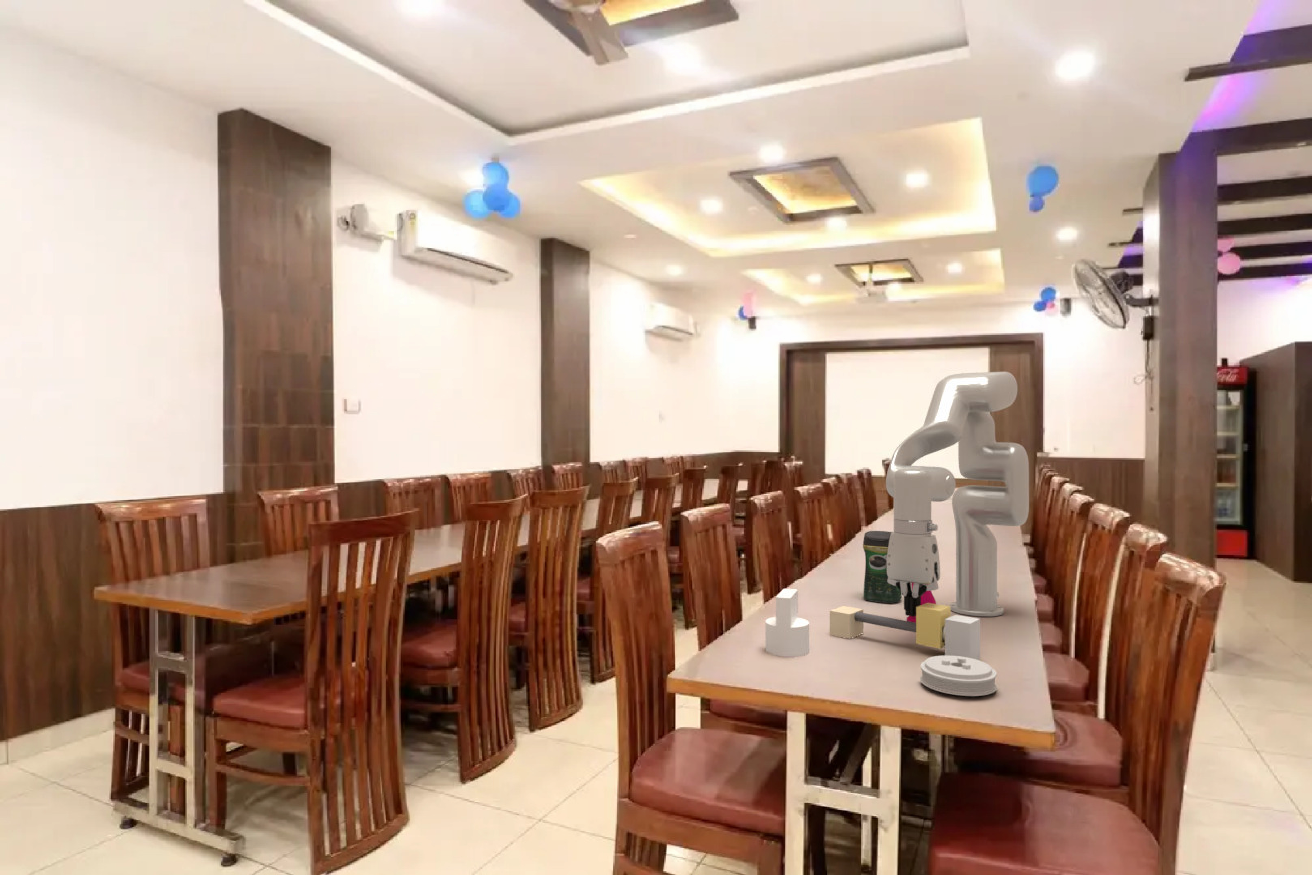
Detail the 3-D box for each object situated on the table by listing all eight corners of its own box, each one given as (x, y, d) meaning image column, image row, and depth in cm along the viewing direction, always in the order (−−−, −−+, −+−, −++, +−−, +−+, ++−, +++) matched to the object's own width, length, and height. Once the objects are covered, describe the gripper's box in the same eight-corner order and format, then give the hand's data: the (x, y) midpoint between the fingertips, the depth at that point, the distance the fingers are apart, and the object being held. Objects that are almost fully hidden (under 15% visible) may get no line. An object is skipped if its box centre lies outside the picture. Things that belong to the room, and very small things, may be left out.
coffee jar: (904, 599, 203) (904, 530, 203) (896, 605, 196) (896, 534, 196) (868, 595, 208) (868, 528, 208) (859, 601, 202) (859, 531, 201)
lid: (985, 678, 140) (985, 651, 140) (1005, 703, 128) (1005, 674, 128) (914, 675, 142) (914, 648, 142) (927, 699, 130) (927, 670, 130)
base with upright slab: (805, 658, 152) (805, 599, 152) (761, 654, 155) (761, 596, 155) (812, 646, 161) (812, 590, 160) (770, 642, 164) (770, 587, 164)
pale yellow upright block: (927, 638, 159) (927, 602, 159) (950, 643, 156) (950, 606, 156) (916, 643, 156) (916, 606, 155) (939, 648, 152) (940, 611, 152)
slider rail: (843, 629, 173) (843, 594, 173) (980, 657, 152) (980, 618, 152) (829, 634, 169) (829, 599, 169) (969, 664, 148) (969, 624, 148)
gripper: (955, 529, 156) (955, 617, 156) (887, 523, 166) (887, 605, 167) (939, 533, 151) (939, 624, 151) (870, 526, 161) (871, 612, 161)
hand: (912, 614), depth 159 cm, fingers closed
